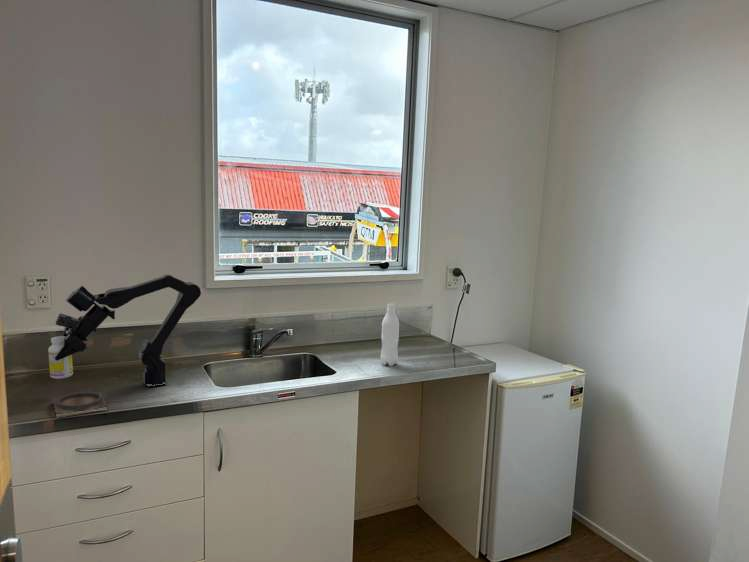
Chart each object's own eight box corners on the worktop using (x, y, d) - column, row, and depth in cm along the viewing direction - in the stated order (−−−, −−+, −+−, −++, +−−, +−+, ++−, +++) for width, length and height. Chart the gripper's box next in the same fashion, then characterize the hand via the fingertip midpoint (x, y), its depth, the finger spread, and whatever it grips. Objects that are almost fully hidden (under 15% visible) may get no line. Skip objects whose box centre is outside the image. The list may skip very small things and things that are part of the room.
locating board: (101, 396, 192) (101, 388, 191) (107, 410, 180) (107, 402, 179) (52, 403, 184) (52, 395, 184) (56, 418, 172) (55, 409, 172)
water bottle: (391, 367, 233) (393, 306, 230) (376, 364, 238) (378, 304, 234) (401, 364, 239) (403, 304, 235) (387, 360, 243) (389, 301, 240)
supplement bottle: (67, 371, 195) (64, 334, 193) (77, 375, 191) (74, 337, 189) (46, 376, 190) (43, 338, 188) (56, 380, 186) (53, 341, 184)
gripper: (70, 299, 197) (34, 335, 193) (72, 310, 181) (33, 348, 177) (97, 320, 202) (62, 355, 198) (101, 332, 186) (64, 370, 182)
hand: (55, 356), depth 189 cm, fingers closed on supplement bottle, 7 cm apart
